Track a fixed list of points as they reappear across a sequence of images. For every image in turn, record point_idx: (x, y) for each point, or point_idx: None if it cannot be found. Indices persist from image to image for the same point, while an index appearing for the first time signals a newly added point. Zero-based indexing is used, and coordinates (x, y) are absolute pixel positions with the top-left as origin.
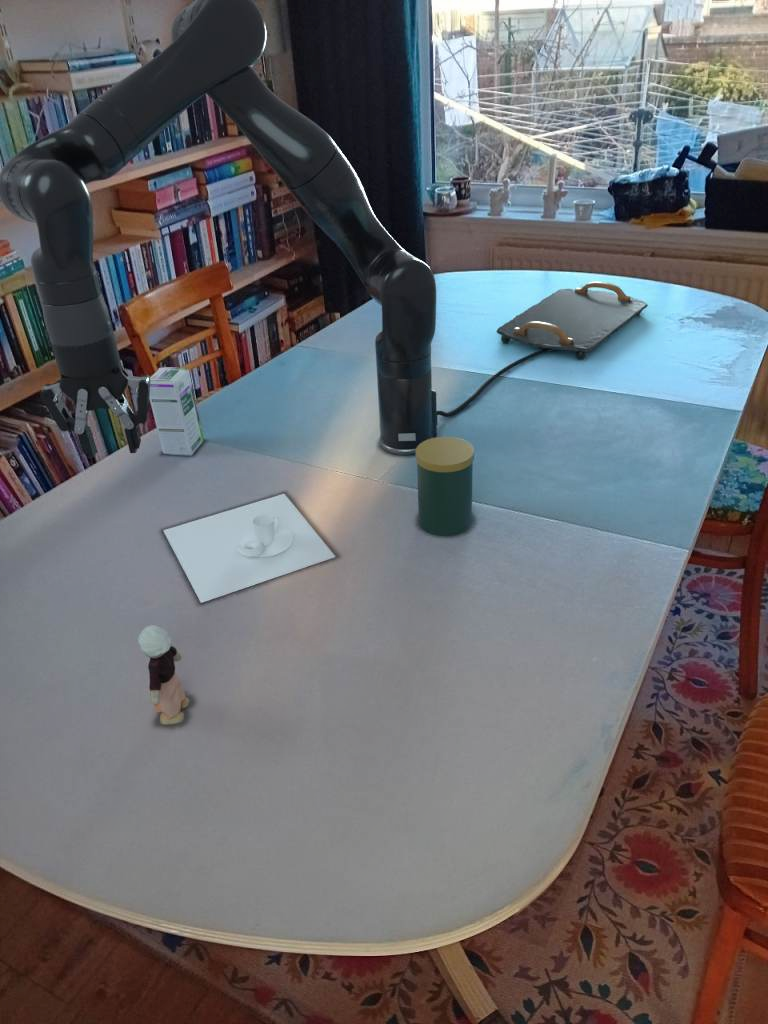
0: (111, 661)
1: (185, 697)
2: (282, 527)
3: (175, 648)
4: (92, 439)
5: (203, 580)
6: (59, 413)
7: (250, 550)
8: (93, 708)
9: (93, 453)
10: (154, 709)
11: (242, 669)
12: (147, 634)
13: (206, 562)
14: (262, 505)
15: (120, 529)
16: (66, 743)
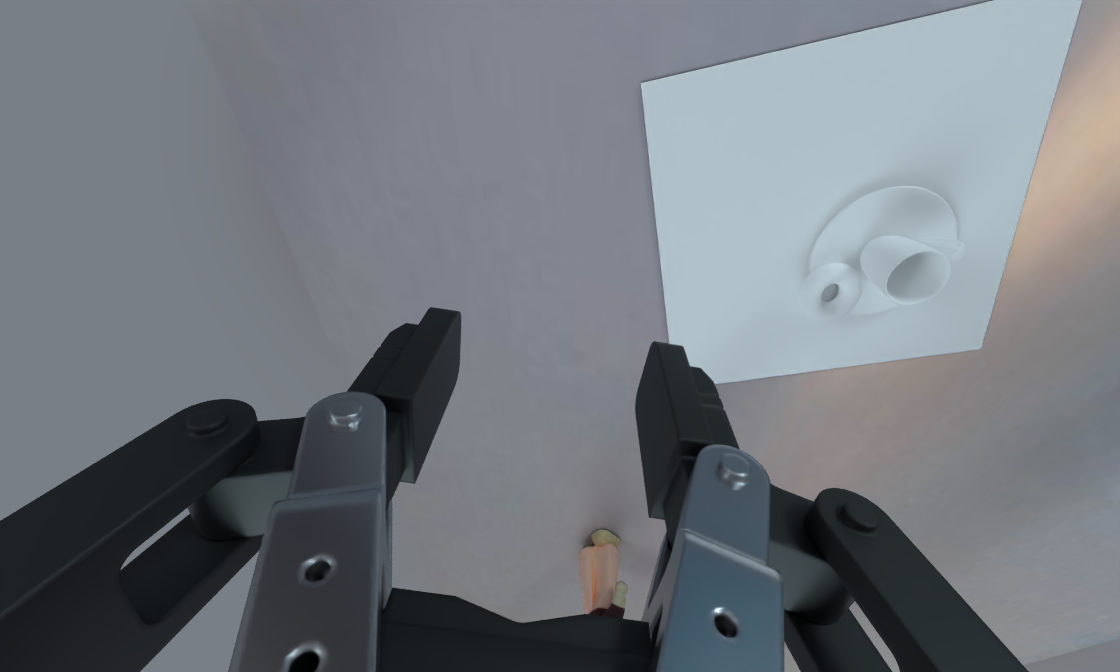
0: (519, 458)
1: (616, 543)
2: (950, 212)
3: (623, 612)
4: (438, 371)
5: (694, 331)
6: (148, 650)
7: (826, 318)
8: (501, 516)
9: (454, 380)
10: (578, 557)
11: None
12: None
13: (717, 275)
14: (973, 40)
15: (515, 21)
16: (476, 545)
